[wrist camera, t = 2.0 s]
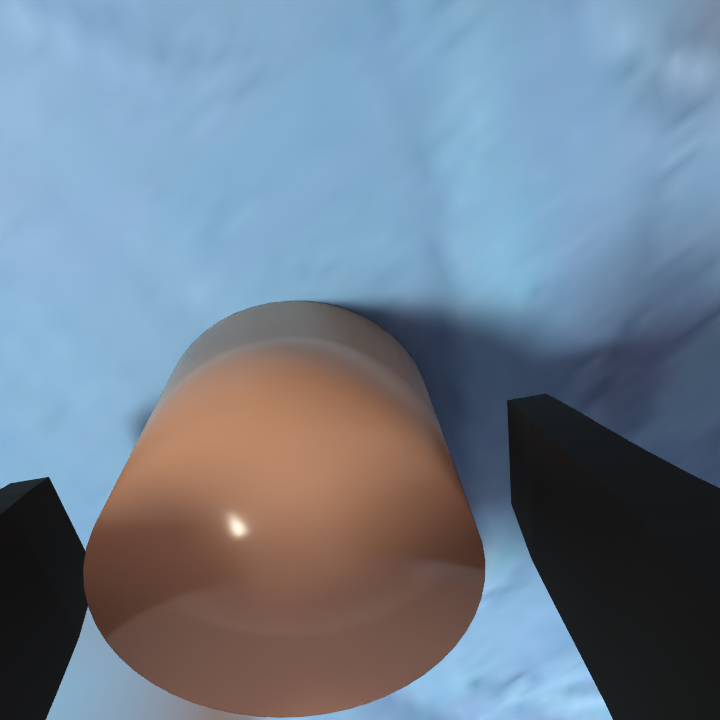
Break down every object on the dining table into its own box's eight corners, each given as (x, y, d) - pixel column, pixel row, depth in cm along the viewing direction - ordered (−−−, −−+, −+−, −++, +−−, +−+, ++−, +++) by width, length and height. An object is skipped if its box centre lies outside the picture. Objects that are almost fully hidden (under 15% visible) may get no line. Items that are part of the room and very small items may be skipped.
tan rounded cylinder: (440, 504, 12) (494, 686, 8) (205, 542, 12) (156, 740, 8) (415, 278, 10) (472, 390, 6) (126, 326, 10) (13, 466, 6)
